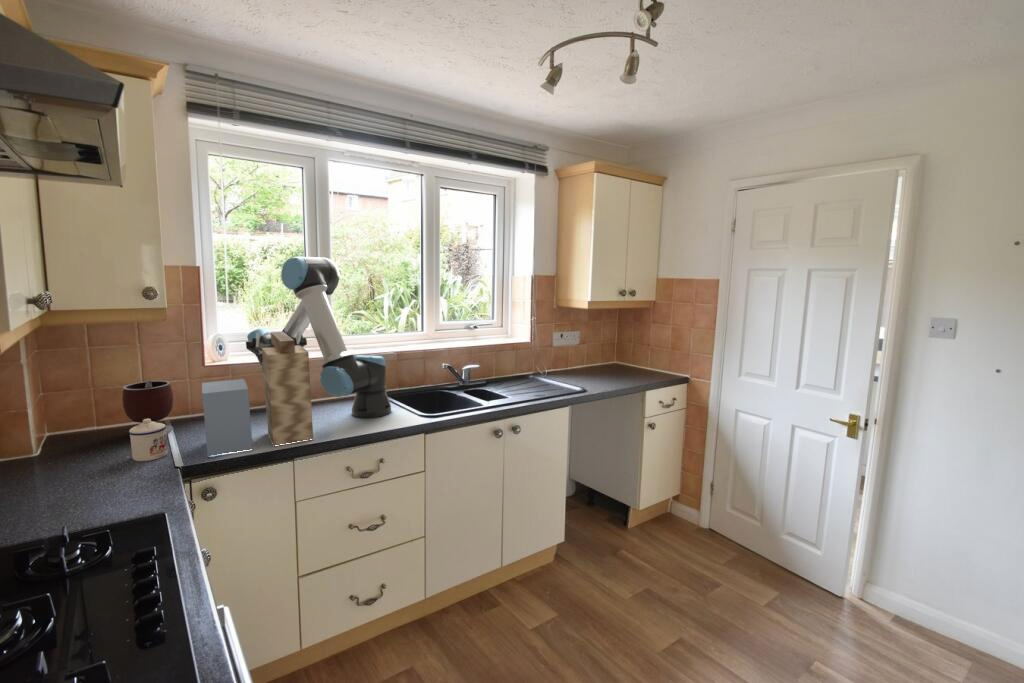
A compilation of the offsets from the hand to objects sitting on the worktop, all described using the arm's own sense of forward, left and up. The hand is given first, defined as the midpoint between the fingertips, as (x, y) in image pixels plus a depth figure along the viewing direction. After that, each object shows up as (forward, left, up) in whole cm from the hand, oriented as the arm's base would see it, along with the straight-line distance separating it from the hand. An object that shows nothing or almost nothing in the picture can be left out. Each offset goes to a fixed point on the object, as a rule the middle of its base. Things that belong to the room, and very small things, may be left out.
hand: (279, 334), depth 173 cm
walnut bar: (0, +7, -4) cm, 8 cm away
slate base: (+18, +12, -34) cm, 40 cm away
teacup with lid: (+38, +8, -34) cm, 52 cm away
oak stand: (0, +12, -34) cm, 36 cm away
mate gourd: (+40, -16, -34) cm, 55 cm away
